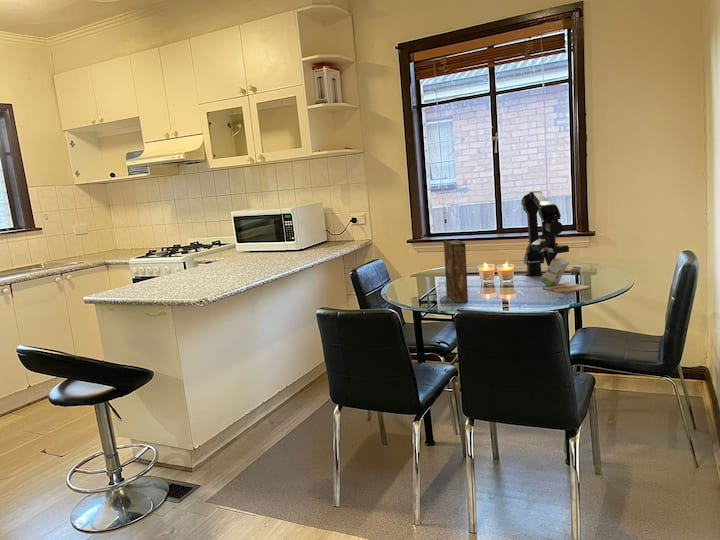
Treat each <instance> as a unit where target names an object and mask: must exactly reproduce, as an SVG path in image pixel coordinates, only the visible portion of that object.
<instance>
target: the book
mask: <svg viewBox="0 0 720 540" xmlns="http://www.w3.org/2000/svg"><path fill="white" fill-rule="evenodd" d="M443 248H444V249H443V251H444V253H443V255H444V268H445V290H446V291H445V292H446V296H447V297H448V298H449V299H451V301H453V302H454V303H455V304H464V303H466V304H467V303H468V302H469V299H468V298H469V297H468V290H469V289H468V274H467V273H468V271H467V253H466V252H467V251H466V250H467V249H466V243H465V242H463V241H461V240H458V239H454V240H453V239H452V240H443Z"/></svg>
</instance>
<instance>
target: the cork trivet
mask: <svg viewBox="0 0 720 540" xmlns="http://www.w3.org/2000/svg"><path fill="white" fill-rule="evenodd" d="M591 288H592V286H590V285H583V284H578V283H573V282H564V283H558V284H556V285H553V286H548V285H547V286H545V287H542V290H546V291H549V292H555V293H560V294H563V295H565V294H571V293H575V292H579V291H585V290H588V289H591Z"/></svg>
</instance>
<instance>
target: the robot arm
mask: <svg viewBox="0 0 720 540" xmlns="http://www.w3.org/2000/svg"><path fill="white" fill-rule="evenodd" d="M521 205H522V209H523V211H524V213H526V218H527V233H528V245H527V247H526V249H525V254H524V257H523V264H525V265H526V269H527V270H526V271H527V273H525V274H524V276H526V277H532V278H536V277H541V276H544V274H543V273H542V266H541V264H544V263H545V262H546V265H547V267H549V265H550V263H551V261H552V260H553V259H555V258H557V255H558V254H562V253H568V252H570V247H569V246H568V244H567V245H566V244H560V245H559V244H558V242H556V239H557V237H558V235H559V234H561V233H562V232H563V231H564V226H563V224H562V222H560V221H559V220H562V219H561V212H560V210H559V207H558V206H557V204H555V203H554V202H552V201H548V200H547V198H546V197H545V195H543V191H542V190H538V189H537V190H531V191H529V193H526V194H525V195H523V197H522V199H521ZM538 216H539V217H540V221H541V234H539V227H538V225H539V224H538Z"/></svg>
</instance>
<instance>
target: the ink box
mask: <svg viewBox="0 0 720 540" xmlns="http://www.w3.org/2000/svg"><path fill="white" fill-rule="evenodd" d="M569 264H570V261H568V260H566V258H565V259H564V258H563V257H561V256H559V257H555V259H553V260H552V261H551V263H550V265H549V267H548V266H547V267H548V268H547V269H546V271H545V273H544V274H543V278H542V279H541V283H543V284H545V285H547V287H548V286H553V285H558V284H560V281H561V279H562V277H563V275H564V274H565V272H566V270H567V268H568V266H569Z"/></svg>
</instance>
